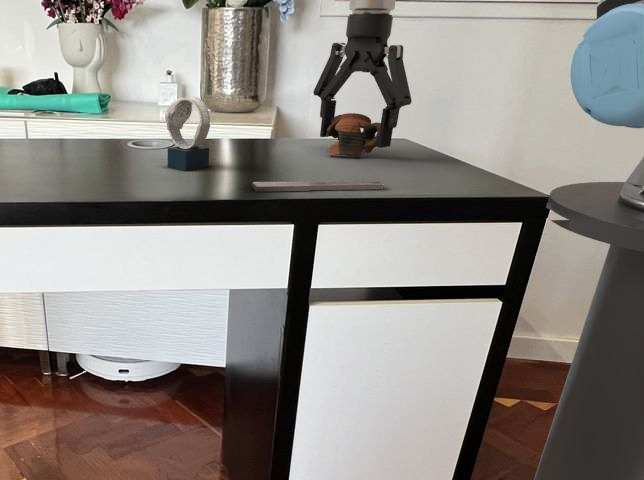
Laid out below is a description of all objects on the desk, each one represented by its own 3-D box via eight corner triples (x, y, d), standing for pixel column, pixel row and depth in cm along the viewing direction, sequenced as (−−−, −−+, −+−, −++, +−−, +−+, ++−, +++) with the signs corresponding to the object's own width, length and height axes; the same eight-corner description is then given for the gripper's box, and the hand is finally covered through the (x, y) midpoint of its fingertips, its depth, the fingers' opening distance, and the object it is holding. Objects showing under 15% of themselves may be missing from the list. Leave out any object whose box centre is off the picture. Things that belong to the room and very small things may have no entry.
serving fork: (377, 186, 95) (378, 180, 95) (384, 190, 92) (385, 184, 92) (252, 187, 94) (252, 181, 93) (256, 191, 91) (256, 186, 91)
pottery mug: (313, 157, 118) (318, 115, 119) (337, 174, 125) (341, 134, 126) (374, 147, 110) (379, 101, 111) (396, 166, 117) (400, 123, 118)
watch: (182, 161, 112) (183, 94, 107) (216, 168, 106) (218, 98, 102) (159, 165, 108) (158, 96, 103) (192, 172, 103) (194, 100, 98)
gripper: (302, 12, 115) (291, 134, 125) (420, 12, 98) (397, 153, 107) (330, 13, 119) (317, 130, 129) (448, 13, 102) (423, 149, 111)
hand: (353, 141), depth 118 cm, fingers open, 13 cm apart
